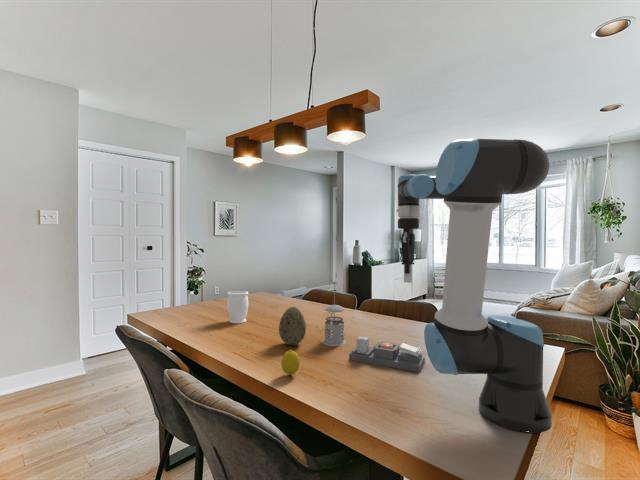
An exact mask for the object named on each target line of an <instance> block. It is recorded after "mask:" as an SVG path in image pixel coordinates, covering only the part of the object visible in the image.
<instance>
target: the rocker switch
mask: <svg viewBox="0 0 640 480" xmlns="http://www.w3.org/2000/svg"><path fill="white" fill-rule="evenodd" d="M399 351H400V352H401V351H403V352H406V353H409V354H411V355H414V356H417V357H419V355H420V353H421V354H422V348H421V347H420V346H418V347H416V346H413V345H410V344H408V343H404V342H402V343H401V344H400V345H399Z"/></svg>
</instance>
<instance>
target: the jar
mask: <svg viewBox="0 0 640 480" xmlns="http://www.w3.org/2000/svg"><path fill="white" fill-rule="evenodd" d="M248 295H249V291H247V290H230V291H228V292H227V296H228V297H227V304H226V307H227V311H228V316H229V318H230V319H229V323H230V324H244V323H246V322H247V315H248V311H249V296H248Z"/></svg>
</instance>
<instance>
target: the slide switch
mask: <svg viewBox="0 0 640 480" xmlns="http://www.w3.org/2000/svg"><path fill="white" fill-rule="evenodd" d="M355 344H356V346H355V348H356V353H362V354H366V353H367V352H368V351H369V347H370V337H367V336H361V335H359V336H358V337H356V343H355Z"/></svg>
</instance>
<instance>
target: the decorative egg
mask: <svg viewBox="0 0 640 480" xmlns="http://www.w3.org/2000/svg"><path fill="white" fill-rule="evenodd" d="M306 331H307V324H306V320H305V317H304V315H303V313H302V312H301V310H300V309H299V308H298V307H296V306H290V307H289V308H287V309H286V310H285V311H284V313H283V314H282V316H281V318H280V321H279V324H278V334H279V337H280V338H281V340H282V342H284V344H286V345H288V346H296V345H298V344H300V343H301V342H302V341H303V339H304V338H305V336H306Z"/></svg>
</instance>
